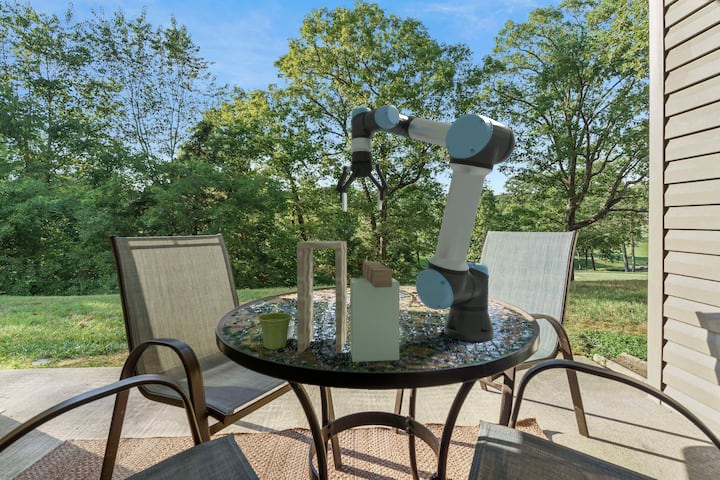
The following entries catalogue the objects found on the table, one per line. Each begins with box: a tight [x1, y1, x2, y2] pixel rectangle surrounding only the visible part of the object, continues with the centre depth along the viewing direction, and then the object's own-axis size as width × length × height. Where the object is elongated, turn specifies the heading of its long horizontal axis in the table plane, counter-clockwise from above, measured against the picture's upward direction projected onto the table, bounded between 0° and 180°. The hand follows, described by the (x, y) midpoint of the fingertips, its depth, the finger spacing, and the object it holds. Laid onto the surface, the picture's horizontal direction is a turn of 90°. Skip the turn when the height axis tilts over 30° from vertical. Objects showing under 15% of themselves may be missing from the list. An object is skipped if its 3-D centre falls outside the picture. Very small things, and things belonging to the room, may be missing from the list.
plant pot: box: [257, 312, 293, 350], centre depth 102 cm, size 9×9×9 cm
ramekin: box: [287, 319, 295, 340], centre depth 112 cm, size 9×9×4 cm
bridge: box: [296, 240, 348, 354], centre depth 103 cm, size 14×12×30 cm
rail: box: [362, 261, 393, 288], centre depth 94 cm, size 24×4×4 cm, turn 6°
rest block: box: [349, 277, 400, 363], centre depth 94 cm, size 12×8×20 cm, turn 96°
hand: (361, 210), depth 130 cm, fingers open, 13 cm apart
